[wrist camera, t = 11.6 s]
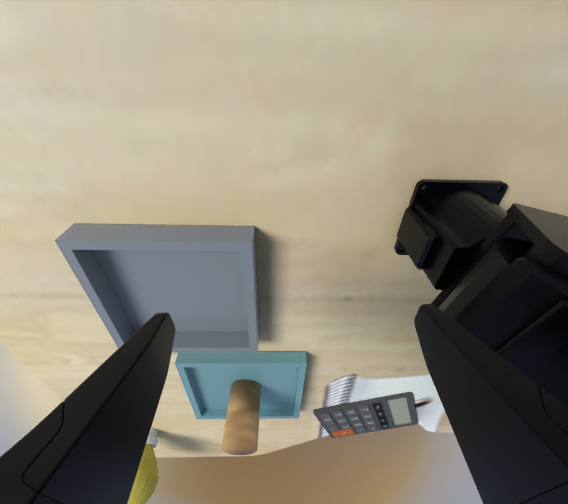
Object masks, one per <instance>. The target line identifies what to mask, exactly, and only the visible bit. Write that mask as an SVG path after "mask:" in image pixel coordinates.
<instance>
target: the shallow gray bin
mask: <svg viewBox="0 0 568 504" xmlns="http://www.w3.org/2000/svg"><path fill="white" fill-rule="evenodd" d="M55 241H56V243H57V245H58V247H59V248H60V250H61V252H62V253H63V255H64V257H65V258H66V260H67V262H68V263H69V265H70V267H71V269H72V270H73V272H74V274H75V275H76V277H77V279H78V280H79V282H80V284H81V286H82V287H83V289H84V291H85V292H86V294H87V296H88V297H89V299H90V301H91V302H92V304H93V306H94V308H95V309H96V311H97V313H98V314H99V316H100V318H101V319H102V321H103V323H104V325H105V326H106V328H107V330H108V331H109V333H110V335H111V336H112V338H113V340H114V341H115V343H116V345H117V347H118V348H120V347H121V346H122V345H123V344H124V343H125V342H126V341H127V340H128V339H129V338H130V337H131V336H132V335H133V334H135V333H136V332H137V331H138V330H139V329H140V328H141V327H142V326H143V325H144V324H145V323H146V322H147V321H148V320H149V319H150V318H151V317H152V316H154V315H155V314H156V313H163V312H167V313H169V314H170V316H171V318H172V320H173V323H174V325H175V330H176V331H175V337H174V342H173V348H172V352H258V341H259V322H258V299H257V275H256V252H255V228H254V226H208V225H141V224H73V225H72V226H71V227H70V228H68V229H67V230H66V231H65V232H64V233H63V234H62V235H61V236H59V237H58V238H57V239H56V240H55Z"/></svg>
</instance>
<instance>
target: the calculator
mask: <svg viewBox="0 0 568 504" xmlns="http://www.w3.org/2000/svg"><path fill="white" fill-rule="evenodd" d="M313 411H314V415H315V416H316V417H317V419H318V420H319V421H320V423H321V424H322V425H323V427H324V428H325V429H326V431H327V432H328V434H329V435H330V436H331V437H332V438H336V437H342V436H348V435H354V434H360V433H367V432H373V431H379V430H385V429H391V428H397V427H403V426H409V425H415V424H418V420H417V415H416V409H415V404H414V398H413V394H412V392H407V393H401V394H396V395H390V396H385V397H379V398H374V399H368V400H363V401H358V402H352V403H347V404H341V405H336V406H330V407H325V408H319V409H315V410H313Z"/></svg>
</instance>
